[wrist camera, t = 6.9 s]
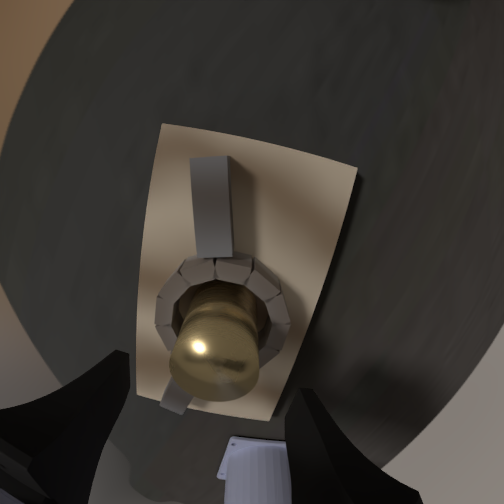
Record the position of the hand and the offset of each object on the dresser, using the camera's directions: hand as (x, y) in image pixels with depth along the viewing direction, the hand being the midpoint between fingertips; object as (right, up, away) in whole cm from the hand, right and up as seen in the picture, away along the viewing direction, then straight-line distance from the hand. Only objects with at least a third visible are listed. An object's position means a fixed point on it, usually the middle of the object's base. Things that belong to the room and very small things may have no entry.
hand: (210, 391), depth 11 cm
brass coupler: (0, +2, +7) cm, 7 cm away
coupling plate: (0, +3, +8) cm, 8 cm away
